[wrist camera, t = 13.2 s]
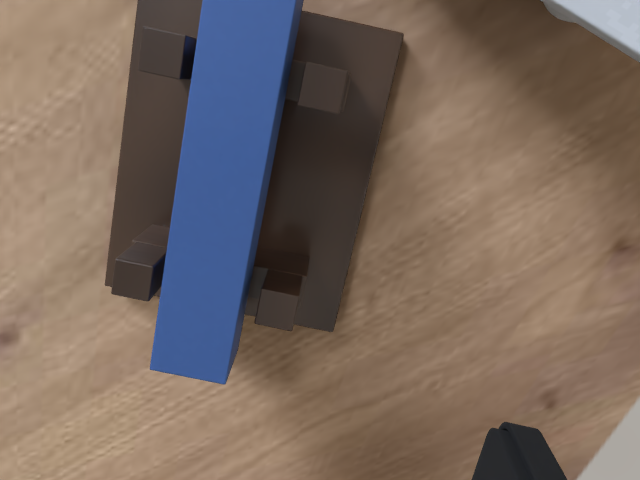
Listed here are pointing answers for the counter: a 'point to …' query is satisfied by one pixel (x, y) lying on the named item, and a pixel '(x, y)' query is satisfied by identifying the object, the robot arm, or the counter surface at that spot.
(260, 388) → the counter surface
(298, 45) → the holder
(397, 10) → the counter surface
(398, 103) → the counter surface
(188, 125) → the blue bar
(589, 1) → the door handle
